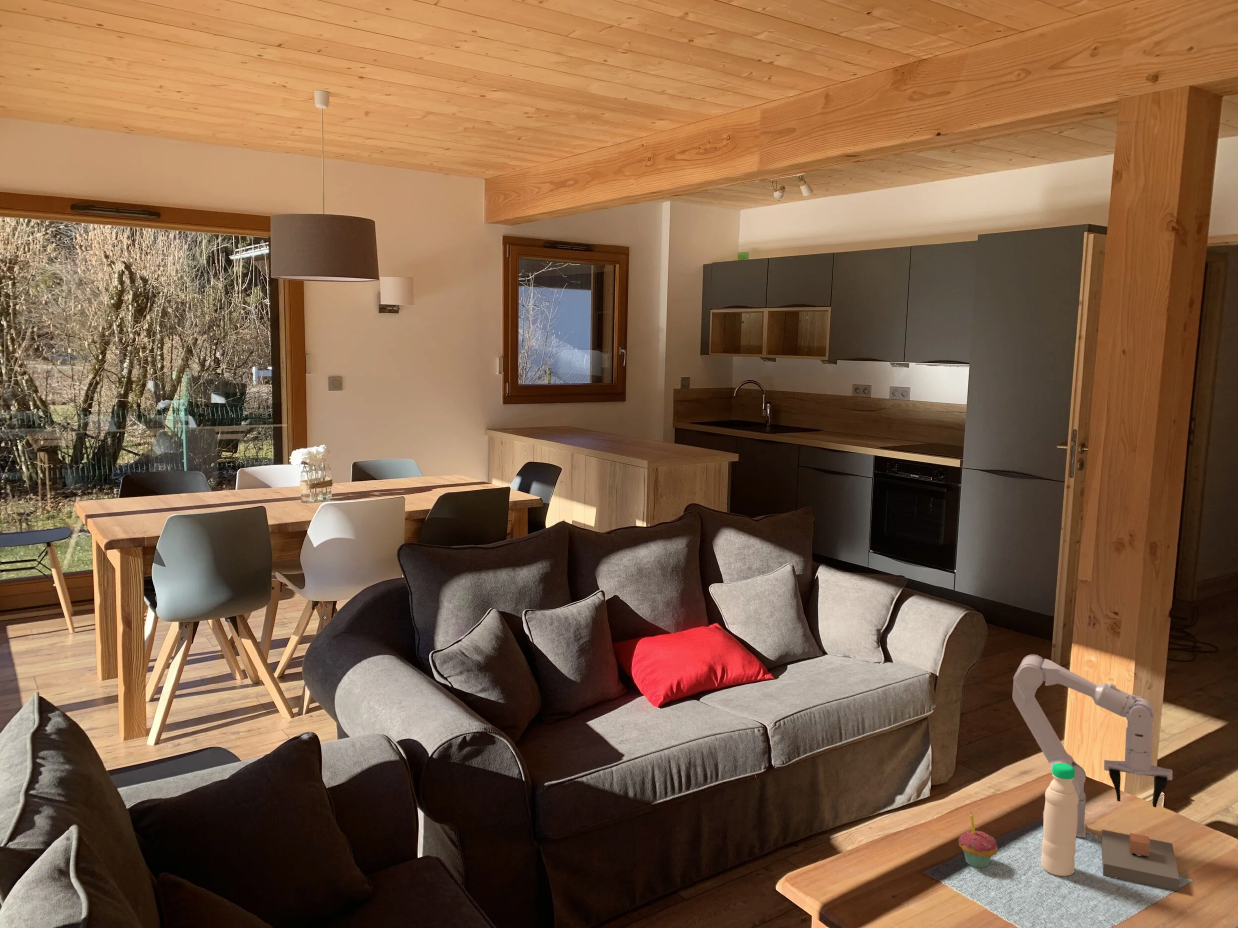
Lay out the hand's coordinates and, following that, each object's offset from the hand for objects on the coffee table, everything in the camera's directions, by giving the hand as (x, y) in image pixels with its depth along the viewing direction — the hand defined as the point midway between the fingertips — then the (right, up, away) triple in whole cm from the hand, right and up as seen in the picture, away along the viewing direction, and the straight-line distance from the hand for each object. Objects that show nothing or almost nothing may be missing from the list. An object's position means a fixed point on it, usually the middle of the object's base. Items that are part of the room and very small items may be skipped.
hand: (1136, 802), depth 233 cm
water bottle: (-25, -12, -11) cm, 29 cm away
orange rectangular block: (-5, -11, -9) cm, 15 cm away
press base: (-5, -11, -9) cm, 15 cm away
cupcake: (-42, -11, -9) cm, 44 cm away
